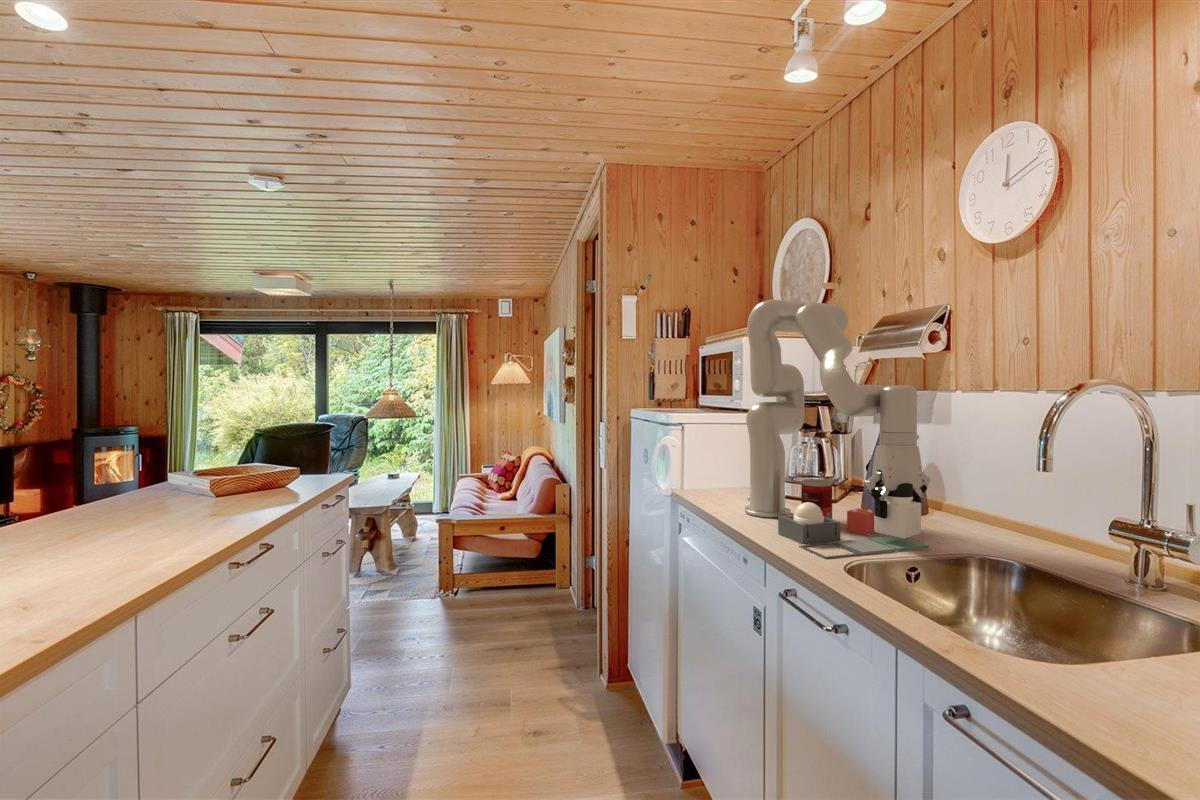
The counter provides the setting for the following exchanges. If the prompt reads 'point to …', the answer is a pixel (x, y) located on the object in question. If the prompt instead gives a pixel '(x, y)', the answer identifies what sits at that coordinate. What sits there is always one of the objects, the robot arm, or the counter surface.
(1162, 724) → the counter surface
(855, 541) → the game board
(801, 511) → the dome
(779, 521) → the base
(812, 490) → the canned food
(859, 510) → the red die
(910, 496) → the medicine bottle
